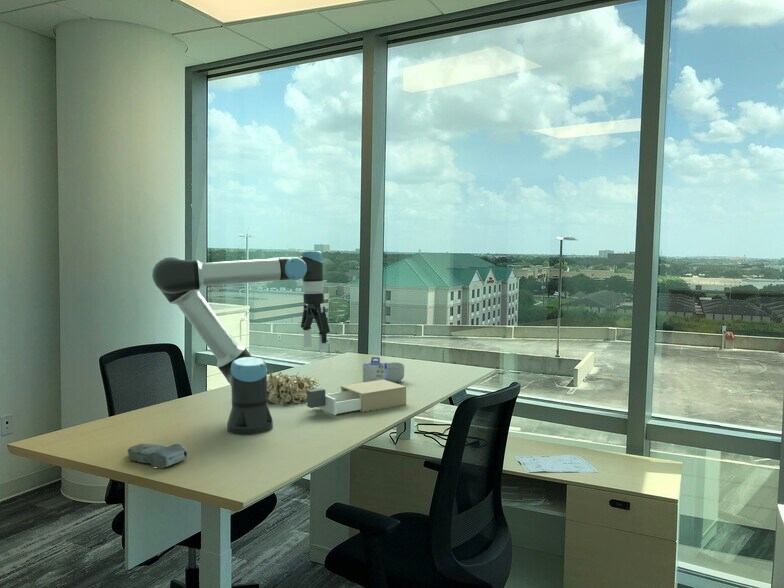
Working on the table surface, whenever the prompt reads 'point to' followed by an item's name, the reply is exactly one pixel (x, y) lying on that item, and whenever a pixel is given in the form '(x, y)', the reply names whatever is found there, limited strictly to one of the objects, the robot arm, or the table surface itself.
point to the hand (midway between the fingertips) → (315, 349)
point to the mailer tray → (334, 401)
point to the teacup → (395, 372)
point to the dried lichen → (288, 388)
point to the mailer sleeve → (378, 394)
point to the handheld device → (157, 454)
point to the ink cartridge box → (374, 370)
